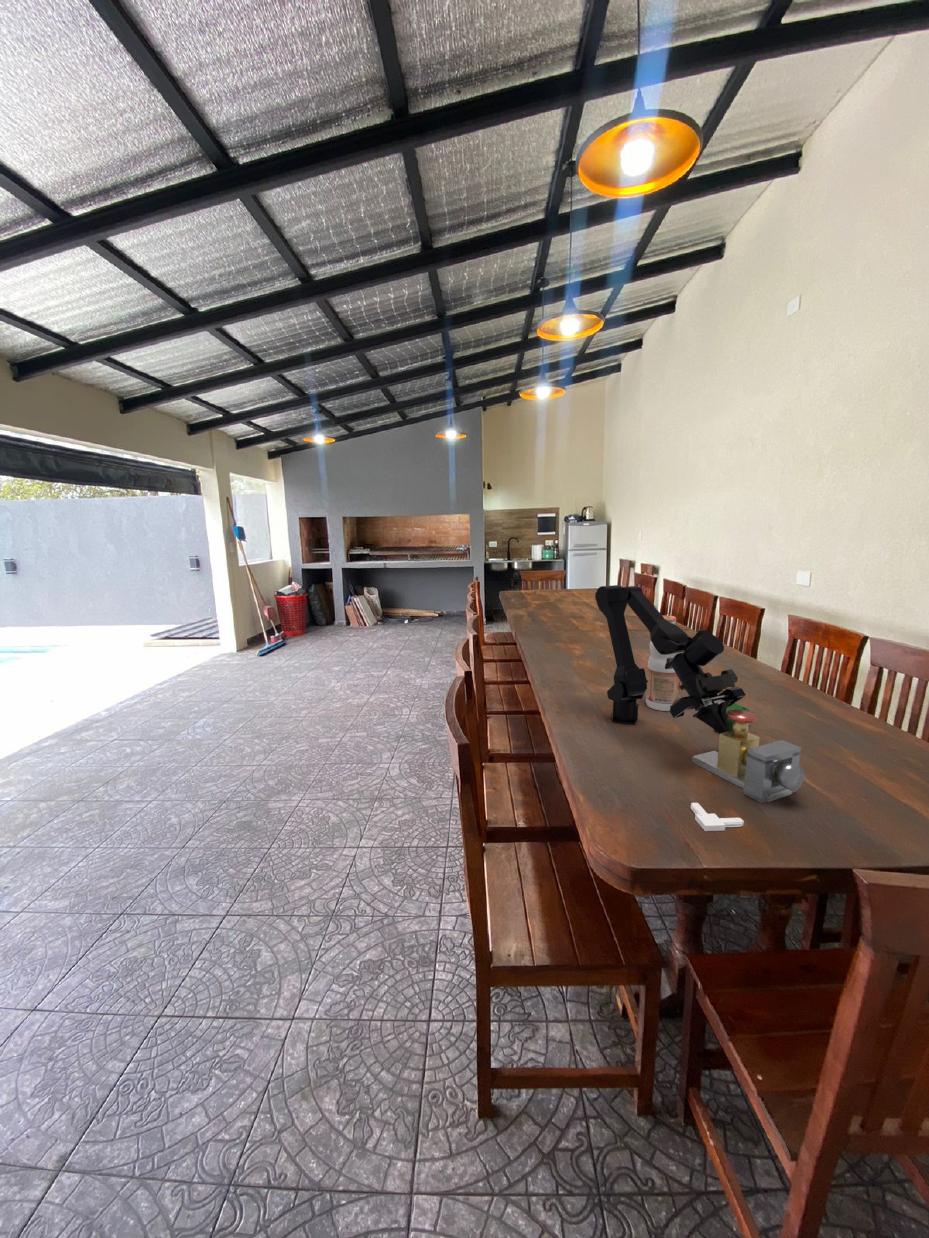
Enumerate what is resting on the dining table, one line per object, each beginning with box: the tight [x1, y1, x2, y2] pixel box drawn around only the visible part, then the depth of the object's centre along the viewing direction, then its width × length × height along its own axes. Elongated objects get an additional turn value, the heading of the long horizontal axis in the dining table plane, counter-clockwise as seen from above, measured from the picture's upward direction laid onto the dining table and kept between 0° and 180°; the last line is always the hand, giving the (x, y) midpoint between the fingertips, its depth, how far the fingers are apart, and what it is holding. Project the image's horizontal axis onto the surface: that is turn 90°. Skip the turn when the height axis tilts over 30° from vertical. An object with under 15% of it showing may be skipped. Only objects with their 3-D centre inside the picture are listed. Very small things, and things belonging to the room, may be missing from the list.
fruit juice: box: [645, 614, 681, 712], centre depth 151 cm, size 9×9×28 cm
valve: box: [717, 710, 761, 777], centre depth 109 cm, size 8×6×13 cm
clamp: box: [726, 702, 751, 731], centre depth 137 cm, size 12×6×9 cm, turn 139°
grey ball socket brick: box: [692, 739, 806, 804], centre depth 108 cm, size 22×10×10 cm, turn 23°
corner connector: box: [690, 802, 745, 832], centre depth 95 cm, size 8×8×2 cm
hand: (728, 736), depth 112 cm, fingers closed, pressing on valve
